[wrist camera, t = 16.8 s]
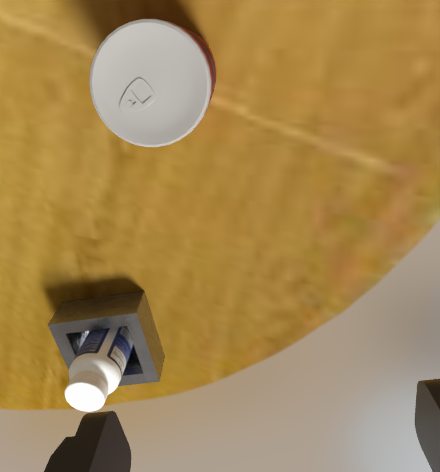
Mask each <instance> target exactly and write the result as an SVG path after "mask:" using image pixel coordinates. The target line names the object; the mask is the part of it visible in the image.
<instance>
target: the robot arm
mask: <svg viewBox="0 0 440 472" xmlns="http://www.w3.org/2000/svg"><path fill="white" fill-rule="evenodd" d="M415 428H416V433H417V436H418V440H419V443H420V445H421V448H422V450H423V452H424V454H425V456H426V458H427V460H428V462H429V465H430V467H431V469H432V471H433V472H440V379H433V380H424V381H419V382H418V384H417V395H416V409H415ZM130 468H131V451H130V447H129V443H128V441H127V439H126V436H125V434H124V431H123V429H122V426H121V424H120V422H119V419H118V417H117V415H116V413H115V412H114V411H108V412H98V413H88V414H86V415H84V416H83V418H82V420H81V422H80V425H79V427H78V430H77V432H76V435H75V436H74V437H66V438H65V439H64V441H63V442H62V443H61V444H60V445H59V447H58V448H57V449H56V450H55V452H54V453H53V454H52V455H51V457H50V459H49V462H48V464H47V466H46V468H45V471H44V472H130Z"/></svg>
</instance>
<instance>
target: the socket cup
mask: <svg viewBox="0 0 440 472" xmlns="http://www.w3.org/2000/svg"><path fill="white" fill-rule="evenodd" d="M48 326H49V328H50V330H51V333H52V335H53V337H54V339H55V341H56V343H57V346H58V348H59V350H60V352H61V354H62V356H63V359H64V361H65V363H66V365H67V367H68V369H70V366H71V364H72V362H73V360H74V358H75V357H76V355H77V353H78V351H79V349H80V347H81V346H82V344H83V342H84V340H85V338H86V337H87V335H88V333H89V331H91V330H98V329H106V328H114V327H122V326H127V327H128V330H129V333H130V336H131V339H132V342H133V344H134V345H133V348H132V350H131V353H130V356H129V358H128V361H127V364H126V367H125V369H124V372H123V375H122V377H121V381H120V383H119V385H118V386H123V385H132V384H141V383H150V382H159V381H160V376H161V371H162V367H163V362H164V357H165V356H164V352H163V349H162V346H161V343H160V339H159V336H158V333H157V330H156V327H155V323H154V320H153V317H152V314H151V311H150V307H149V304H148V301H147V298H146V295H145V291H140V292H133V293H125V294H118V295H111V296H103V297H96V298H89V299H81V300H74V301H67V302H62V304H61V305H60V307H59V308H58V310H57V311H56V313H55V314H54V316H53V317H52V319H51V320H50V322H49V323H48Z"/></svg>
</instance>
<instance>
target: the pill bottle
mask: <svg viewBox="0 0 440 472" xmlns="http://www.w3.org/2000/svg"><path fill="white" fill-rule="evenodd" d="M133 345H134V344H133V342H132V339H131V336H130V333H129V330H128V327H127V326H122V327H114V328H106V329H98V330H91V331H89V333H88V335H87V337H86V338H85V340H84V342H83V344H82V346H81V347H80V349H79V351H78V353H77V355H76V357H75V358H74V360H73V362H72V364H71V366H70V369H69V379H70V381H69V384H68V386H67V388H66V390H65V398H66V400H67V402H68V403H69V404H70V405H71V406H72V407H74V408H76V409H78V410H81V411H87V412H89V411H96V410H98V409H100V408H101V407H102V406H103V404H104V402H105V400H106V398H107V396H108V394H110V393H112V392H113V391H114V390H115V389H116V388H117V387H118V385H119V383H120V381H121V377H122V375H123V372H124V369H125V367H126V364H127V361H128V358H129V356H130V353H131V350H132V348H133Z"/></svg>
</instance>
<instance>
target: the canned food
mask: <svg viewBox="0 0 440 472" xmlns="http://www.w3.org/2000/svg"><path fill="white" fill-rule="evenodd" d="M215 83H216V66H215V61H214V58H213V55H212V53H211V51H210V49H209V48H208V46H207V44H206V43H205V42H204V41H203V40H202V39H201V38H200V37H199V36H198V35H196V34H195V33H194V32H192V31H190V30H188V29H186V28H183V27H181V26H179V25H176V24H174V23H172V22H168V21H163V20H159V19H140V20H136V21H131V22H129V23H127V24H124V25H122V26H120V27H118V28H117V29H116V30H114V31H113V32H112V33H110V34H109V35H108V36H107V37H106V39H105V40H104V41H103V42H102V43H101V45H100V46H99V48H98V50H97V52H96V54H95V56H94V59H93V62H92V66H91V71H90V91H91V96H92V100H93V103H94V106H95V108H96V110H97V112H98V114H99V116H100V118H101V119H102V120H103V122H104V123H105V125H106V126H107V127H108V128H109V129H110V130H111V131H112V132H113V133H114V134H116V135H117V136H119V137H120V138H122V139H123V140H125V141H128V142H130V143H132V144H135V145H140V146H144V147H159V146H165V145H169V144H171V143H174V142H176V141H178V140H180V139H182V138H183V137H185V136H186V135H188V134H189V133H190V132H191V131H192V130H193V129H194V128H195V127H196V126H197V125H198V123H199V122H200V121H201V119H202V118H203V116H204V114H205V112H206V110H207V108H208V105H209V103H210V100H211V97H212V94H213V91H214V87H215Z"/></svg>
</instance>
